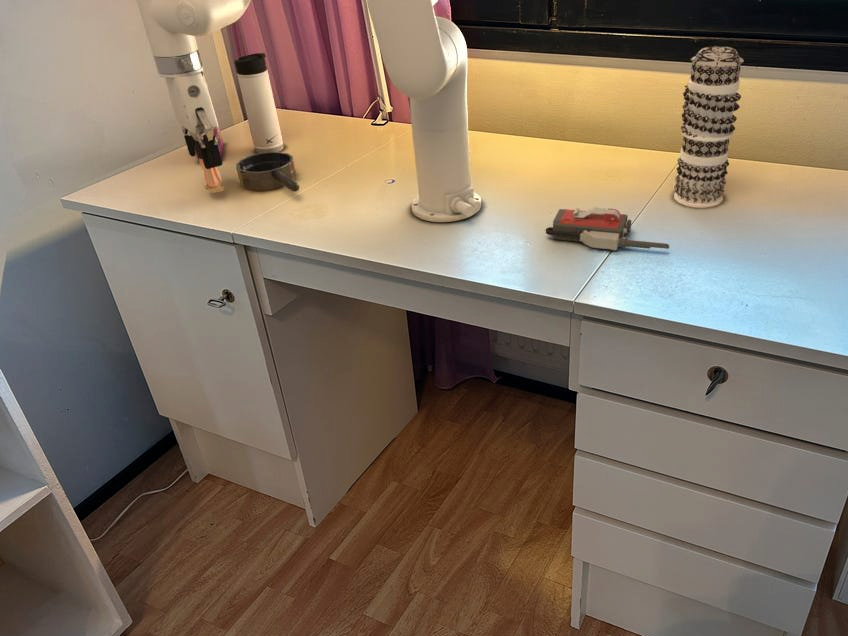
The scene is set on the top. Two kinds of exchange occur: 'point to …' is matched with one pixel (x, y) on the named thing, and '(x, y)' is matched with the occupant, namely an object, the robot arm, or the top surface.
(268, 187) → the pan
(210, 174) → the grandmother figurine
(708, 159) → the white patterned cylinder
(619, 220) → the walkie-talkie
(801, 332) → the top surface
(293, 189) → the pan handle
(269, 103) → the travel mug
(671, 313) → the top surface
